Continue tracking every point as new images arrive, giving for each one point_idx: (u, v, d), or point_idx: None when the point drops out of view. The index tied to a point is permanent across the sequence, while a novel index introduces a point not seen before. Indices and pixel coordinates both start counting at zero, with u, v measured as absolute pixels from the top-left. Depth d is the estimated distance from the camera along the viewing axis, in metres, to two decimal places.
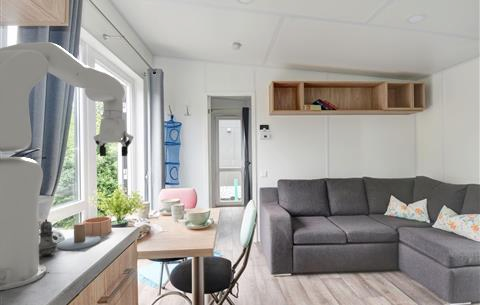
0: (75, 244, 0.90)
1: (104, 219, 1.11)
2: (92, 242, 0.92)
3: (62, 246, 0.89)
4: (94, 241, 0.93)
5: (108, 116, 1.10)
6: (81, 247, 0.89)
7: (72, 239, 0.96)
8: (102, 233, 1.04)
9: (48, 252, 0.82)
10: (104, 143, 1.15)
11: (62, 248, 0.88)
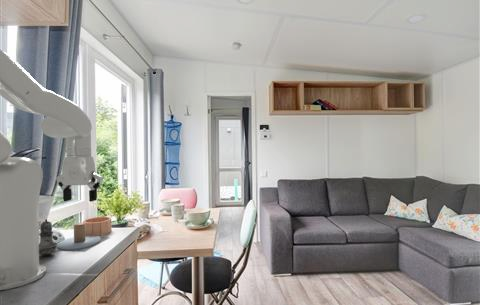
0: (75, 244, 0.90)
1: (104, 219, 1.11)
2: (92, 242, 0.92)
3: (62, 246, 0.89)
4: (94, 241, 0.93)
5: (72, 154, 0.90)
6: (81, 247, 0.89)
7: (72, 239, 0.96)
8: (102, 233, 1.04)
9: (48, 252, 0.82)
10: (69, 184, 0.95)
11: (62, 248, 0.88)
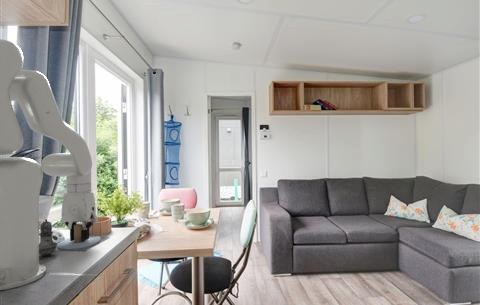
0: (75, 244, 0.90)
1: (104, 219, 1.11)
2: (92, 242, 0.92)
3: (62, 246, 0.89)
4: (94, 241, 0.93)
5: (72, 191, 0.90)
6: (81, 247, 0.89)
7: None
8: (102, 233, 1.04)
9: (48, 252, 0.82)
10: (74, 222, 0.95)
11: (62, 248, 0.88)
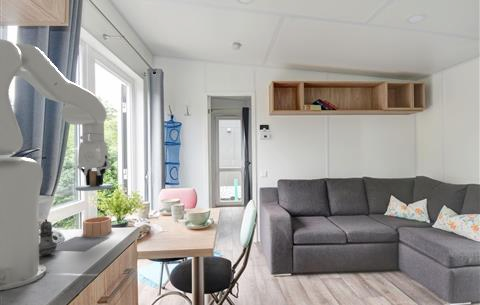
0: (91, 187, 1.01)
1: (104, 219, 1.11)
2: (106, 186, 1.03)
3: (80, 188, 1.00)
4: (107, 186, 1.04)
5: (87, 140, 1.01)
6: (96, 189, 0.99)
7: None
8: (102, 233, 1.04)
9: (48, 252, 0.82)
10: (89, 170, 1.06)
11: (80, 189, 0.99)
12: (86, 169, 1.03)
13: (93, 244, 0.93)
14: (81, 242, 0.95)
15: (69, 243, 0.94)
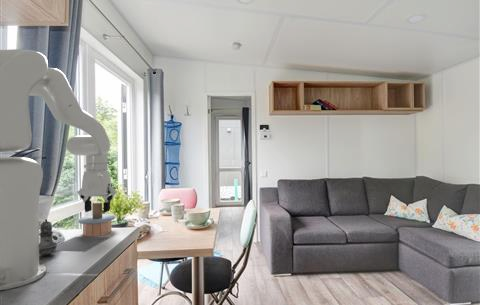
0: (94, 219, 1.04)
1: None
2: (108, 218, 1.05)
3: (83, 221, 1.02)
4: (110, 217, 1.06)
5: (91, 169, 1.03)
6: (99, 222, 1.02)
7: (90, 216, 1.09)
8: (102, 233, 1.04)
9: (48, 252, 0.82)
10: (89, 197, 1.08)
11: (83, 222, 1.01)
12: (86, 196, 1.06)
13: (93, 244, 0.93)
14: (81, 242, 0.95)
15: (69, 243, 0.94)
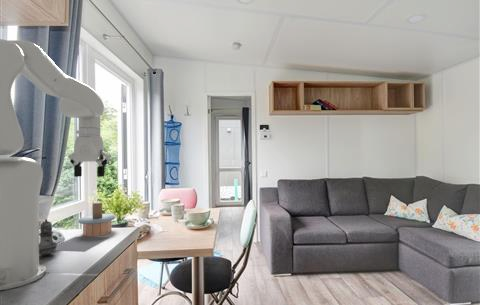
0: (94, 219, 1.04)
1: None
2: (108, 218, 1.05)
3: (83, 221, 1.02)
4: (110, 217, 1.06)
5: (83, 133, 1.01)
6: (99, 222, 1.02)
7: (90, 216, 1.09)
8: (102, 233, 1.04)
9: (48, 252, 0.82)
10: (80, 162, 1.06)
11: (83, 222, 1.01)
12: (77, 161, 1.03)
13: (93, 244, 0.93)
14: (81, 242, 0.95)
15: (69, 243, 0.94)
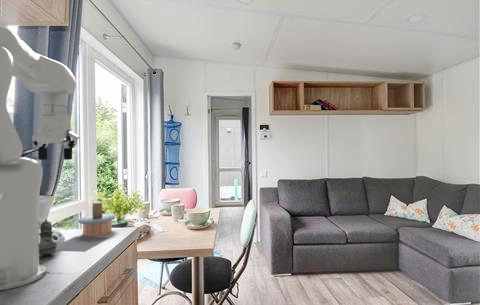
0: (94, 219, 1.04)
1: None
2: (108, 218, 1.05)
3: (83, 221, 1.02)
4: (110, 217, 1.06)
5: (46, 111, 0.91)
6: (99, 222, 1.02)
7: (90, 216, 1.09)
8: (102, 233, 1.04)
9: (48, 252, 0.82)
10: (45, 144, 0.96)
11: (83, 222, 1.01)
12: (41, 143, 0.94)
13: (93, 244, 0.93)
14: (81, 242, 0.95)
15: (69, 243, 0.94)
